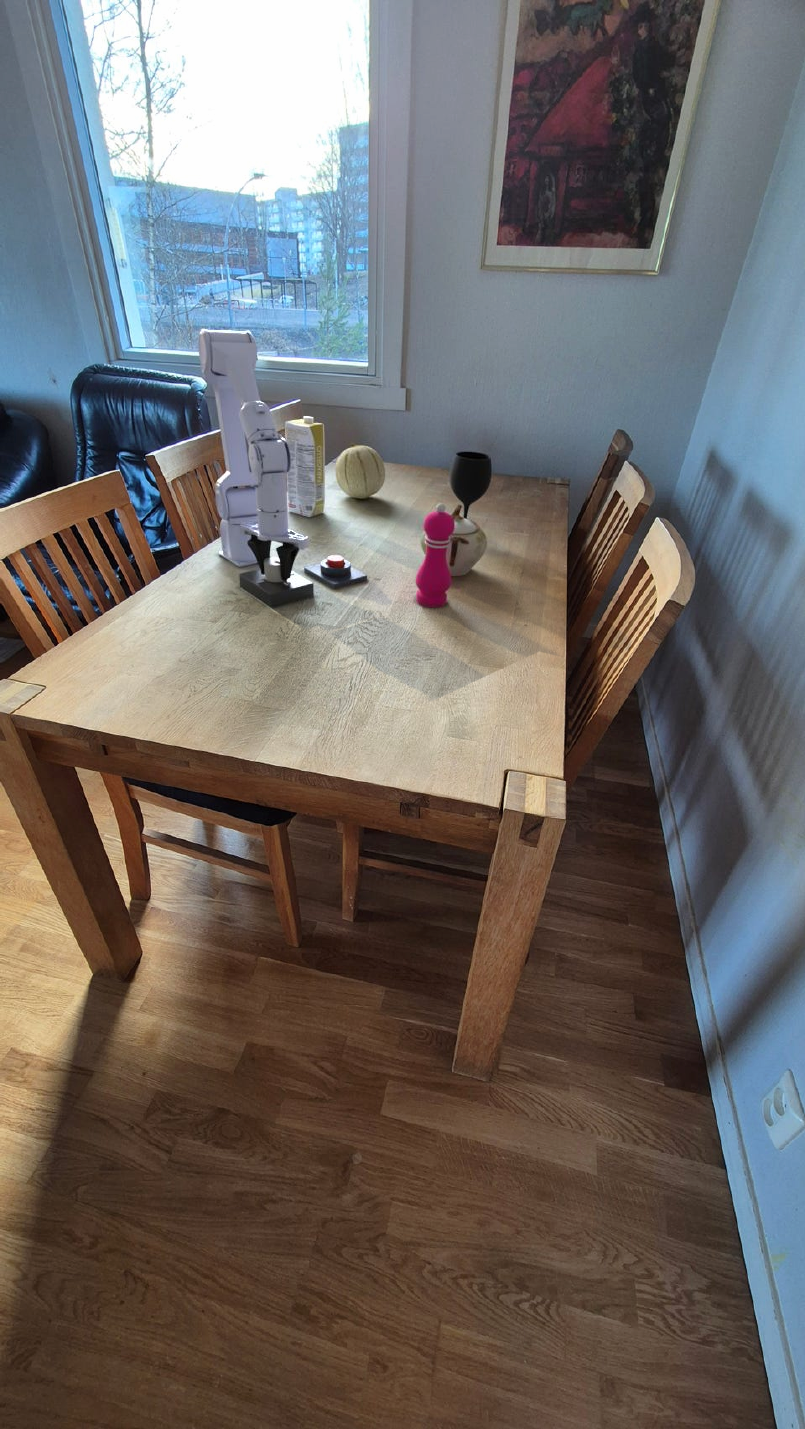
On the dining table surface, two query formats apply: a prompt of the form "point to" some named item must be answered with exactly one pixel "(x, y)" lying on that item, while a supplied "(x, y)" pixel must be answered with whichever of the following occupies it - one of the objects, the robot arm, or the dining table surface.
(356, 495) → the cantaloupe
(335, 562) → the power button
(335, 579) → the button block
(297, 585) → the panel
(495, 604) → the dining table surface
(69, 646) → the dining table surface
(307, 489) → the juice carton
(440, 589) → the pepper mill
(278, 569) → the timer knob
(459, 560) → the sugar bowl
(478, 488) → the wine glass
